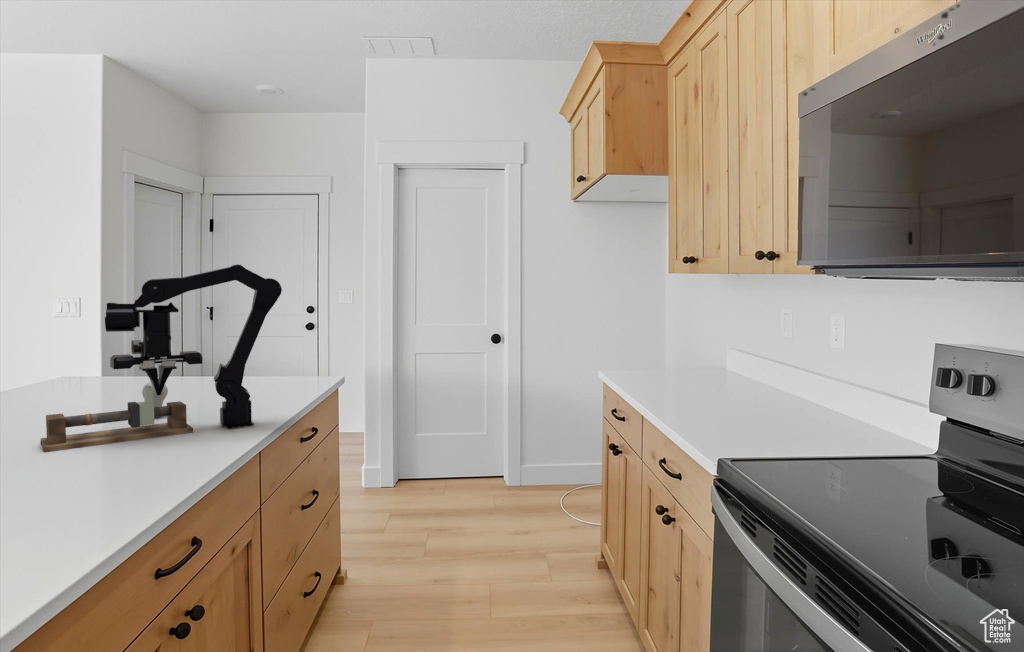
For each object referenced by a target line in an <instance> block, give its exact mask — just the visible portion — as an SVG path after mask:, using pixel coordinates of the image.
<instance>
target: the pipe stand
mask: <svg viewBox="0 0 1024 652" xmlns="http://www.w3.org/2000/svg"><path fill="white" fill-rule="evenodd" d="M159 417H161V418H162V417H166V418H167V419H166V421H167V422H163V423H161V422H160V423H154V424H151V425H143V426H140V427H135V428H132V427H131V426H130V427H122V428H114V429H107V430H97V431H88V432H82V433H72V434H67V429H66V428H72V427H73V428H75V427H82V426H92V425H100V424H108V423H115V422H116V423H117V422H125V421H128V420H131V410H128V409H126V410H118V411H117V410H116V411H109V412H108V411H107V412H97V413H85V414H79V415H71V416H65V415H64V414H63V413H54V414H46V415H45V424H46V437H42V438H41V437H40V445H41V447H42V450H43V452H44V453H48V452H56V451H62V450H69V449H76V448H77V449H78V448H85V447H93V446H101V445H107V444H115V443H116V444H117V443H121V442H122V443H123V442H130V441H137V440H144V439H145V440H146V439H151V438H160V437H167V436H174V435H181V434H183V435H184V434H189V433H194V427H193V426H191V425H190V424H189V423H187V421H188V420H187V417H188V416H187V404H185V403H184V402H183V401H180V400H179V401H170V402H166V405H164V406H163V405H162V407H154V418H159Z"/></svg>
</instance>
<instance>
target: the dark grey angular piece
mask: <svg viewBox="0 0 1024 652" xmlns="http://www.w3.org/2000/svg"><path fill="white" fill-rule="evenodd" d="M127 410H131V420H127V424H128V425H129V426H130V427H132V428H135V427H140V405H139V404H138V403H137V402H136V401H128V402H127Z"/></svg>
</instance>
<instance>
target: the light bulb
mask: <svg viewBox="0 0 1024 652" xmlns="http://www.w3.org/2000/svg"><path fill="white" fill-rule="evenodd" d="M148 385H150V386H152V387H153V385H152V383H151V380H150V381H148V382H147V383H145V384H144V386H148ZM141 394H142V397H143V398H144V387H143V388H142V393H141ZM167 396H168V387H167V385H166V384H165V385H164V388H163V390H162V393H161V395H156V393H155V390H154V388H153V404H154V407H162V406H163V404H164V400H165V399H166V398H167Z"/></svg>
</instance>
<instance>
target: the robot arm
mask: <svg viewBox="0 0 1024 652" xmlns="http://www.w3.org/2000/svg"><path fill="white" fill-rule="evenodd" d="M232 281H237V282H239V283H241V284H243V285H244V286H246V287H248V288H250V289H252V290H254V292H253V296H252V297H253V298H252V305H251V309H250V312H249V313H248V316H247V319H246V321H245V323H244V326H243V329H242V330H241V333H240V336H238V337H239V338H238V341H237V343H236V345H235V346H234V349H233V352H232V354H231V356H230V359H229V360H228V361H227V363H226V364H224V363H223V364H222V363H219V366H218V370H217V373H216V374H215V375H214V376H213V379H214V380H213V381H214V382H215V383H214V386H215V390H216V393H217V394H218V396H220V397H222V398H224V399H225V401H222V402H221V403H222V405H221V407H220V409H219V422H220V424H219V425H221V426H223V427H224V428H226V429H235V428H243V427H248V426H254V425H255V423H254V422H253V421H252V400H251V399H250V398H251V393H249V391H248V389H247V388H246V387H244V386H243V379H244V374H245V368H246V365H247V362H248V359H249V356H251V355H250V354H251V352H252V351H253V347H254V345H255V343H256V340H257V338H258V336H259V333H260V331H261V328H262V326H263V324H264V321H265V319H266V316H267V315H268V313H269V312H270V311H271V309H272V308H273V307H274V305H275V304H276V302H277V301H278V299H279V298H280V296H281V295H282V291H283V289H282V285H281V283H280V282H279V281H278V280H276V279H274V278H266V277H265V278H264V277H263V276H260V275H259V274H257V273H255V272H253V271H251V270H249V269H247V268H245V267H244V266H243V265H242V264H239V263H238V264H233V265H231V266H227V267H223V268H222V267H221V268H218V269H214V270H213V269H212V270H210V271H205V272H200V273H196V274H193V275H191V274H190V275H188V276H184V277H183V276H181V277H166V278H153V279H149V280H147V281H145V282H144V283H143V285H142V287H141V295H139V297H138V298H137V299H135V300H134V302H133V303H117V302H107V303H106V309H105V317H104V326H105V332H107V333H109V332H114V333H115V332H117V333H118V332H120V333H121V332H135V331H136V328H140V327H141V313H142V331H143V332H142V334H143V335H142V338H143V339H142V340H141V339H133V340H132V339H131V341H130V342H131V343H130V345H131V347H130V348H131V354H129V353H128V354H127V353H126V354H112V356H111V357H110V359H109V360H110V361H109V363H110V364H109V365H110V366H109V367H110V368H111V369H113V370H126V369H128V370H129V369H131V368H132V367H133V366H135V365H136V366H137V365H139V366H138V369H139V370H141V371H142V372H145V373H146V374H147V377H148V378H149V380H150V381H151V383H152V385H153V388H154V390H155V393H156V395H161V393H162V390H163V388H164V385H166V383H167V380H168V378H169V377H170V375H171V373H172V371H173V370H177V368H178V366H176V364H177V363H186V364H187V365H188V366H189V365H201V364H203V355H202V353H200V352H199V351H196V350H191V351H190V350H188V351H179V354H172V335H171V333H172V331H171V330H172V329H171V313H179V310H180V309H179V308H177V306H175V305H174V303H173V302H169V303H168V304H167V305H165V304H164V305H158V304H159V303H163V302H165V301H167V300H170V299H172V298H175V297H177V296H179V295H182V294H185V293H187V292H190V291H194V290H198V289H205V288H207V287H212V286H217V285H220V284H224V283H228V282H232ZM151 303H152V304H156V305H153V309H138V308H145V307H146V306H149V305H150V304H151ZM133 355H140V356H133ZM156 364H159V365H158V366H157V367H158V368H157V367H156V366H155V365H156Z"/></svg>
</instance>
